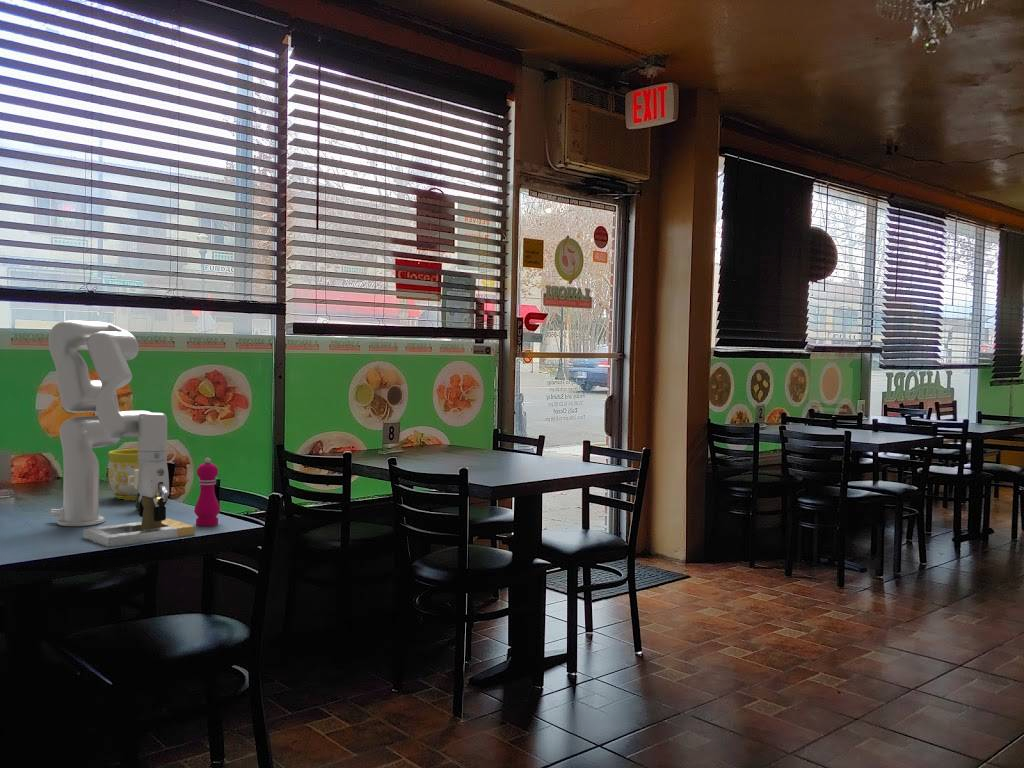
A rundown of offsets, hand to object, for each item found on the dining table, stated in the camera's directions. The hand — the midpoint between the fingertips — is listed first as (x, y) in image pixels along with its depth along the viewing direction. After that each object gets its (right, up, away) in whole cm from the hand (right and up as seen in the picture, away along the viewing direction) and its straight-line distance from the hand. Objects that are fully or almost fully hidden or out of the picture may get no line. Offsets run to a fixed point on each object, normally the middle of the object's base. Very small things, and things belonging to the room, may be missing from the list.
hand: (152, 518), depth 247 cm
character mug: (-18, -3, +39) cm, 43 cm away
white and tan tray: (-2, -5, -2) cm, 6 cm away
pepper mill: (+10, -4, +16) cm, 19 cm away
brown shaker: (0, -5, 0) cm, 5 cm away
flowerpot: (-31, -2, +62) cm, 69 cm away
